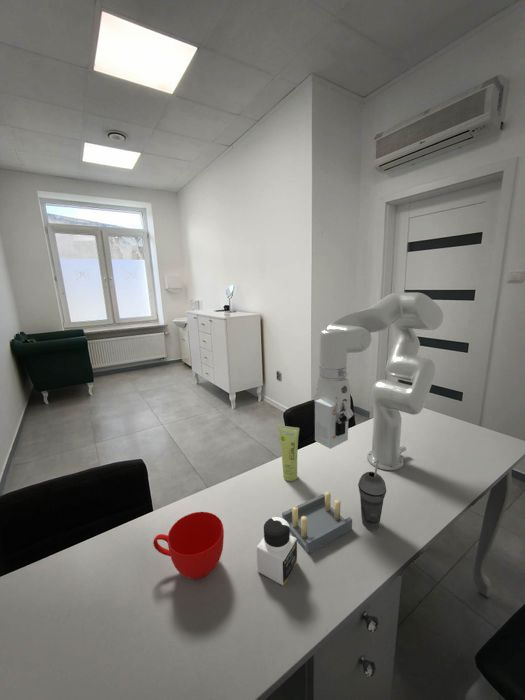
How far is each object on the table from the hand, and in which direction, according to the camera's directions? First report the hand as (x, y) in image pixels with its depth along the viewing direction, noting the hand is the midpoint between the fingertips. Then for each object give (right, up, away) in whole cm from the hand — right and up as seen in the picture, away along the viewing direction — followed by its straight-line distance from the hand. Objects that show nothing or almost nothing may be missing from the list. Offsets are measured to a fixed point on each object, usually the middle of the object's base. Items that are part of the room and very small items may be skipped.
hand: (331, 429), depth 89 cm
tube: (-11, -21, +16) cm, 29 cm away
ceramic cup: (-38, -29, -16) cm, 51 cm away
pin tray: (-5, -26, -6) cm, 27 cm away
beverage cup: (+10, -25, -5) cm, 28 cm away
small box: (0, -4, +1) cm, 4 cm away
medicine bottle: (-17, -29, -17) cm, 38 cm away
